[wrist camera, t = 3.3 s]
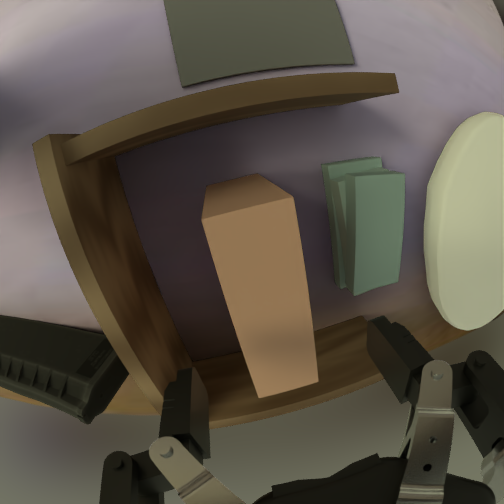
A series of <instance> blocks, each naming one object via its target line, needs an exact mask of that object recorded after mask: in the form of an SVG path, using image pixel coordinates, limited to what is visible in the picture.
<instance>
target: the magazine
mask: <svg viewBox="0 0 504 504" xmlns="http://www.w3.org/2000/svg"><path fill="white" fill-rule="evenodd" d="M128 375H129V372H128V370H127V369H126V367H125V366H124V364H123V363H122V361H121V360H120V358H119V356H118V355H117V353H116V352H115V350H114V348H113V347H112V345H111V343H110V342H109V340H108V338H107V337H106V335H103V334H98V333H93V332H88V331H83V330H79V329H74V328H70V327H65V326H60V325H55V324H50V323H45V322H40V321H33V320H28V319H21V318H15V317H7V316H0V386H1V387H3V388H5V389H8V390H10V391H13V392H15V393H18V394H20V395H23V396H26V397H29V398H32V399H35V400H37V401H40V402H42V403H45V404H47V405H50V406H52V407H54V408H57V409H59V410H61V411H64V412H66V413H68V414H70V415H72V416H74V417H76V418H78V419H79V420H80V421H81V422H83V423H86V424H90V423H91V422H92V420H93V419H94V417H95V416H97V415H99V414H100V413H102V412H103V411H104V410H105V409H106V408H107V406H108V405H109V403H110V402H111V400H112V399H113V397H114V396H115V394H116V393H117V391H118V390H119V388H120V387H121V385H122V384H123V382H124V381H125V379H126V378H127V376H128Z"/></svg>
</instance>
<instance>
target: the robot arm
mask: <svg viewBox="0 0 504 504" xmlns="http://www.w3.org/2000/svg"><path fill="white" fill-rule="evenodd" d="M366 346H367V351H368V354H369V356H370V358H371V359H372V361H373V362H374V364H375V365H376V367H377V368H378V370H379V371H380V373H381V374H382V376H383V377H384V379H385V380H386V382H387V383H388V385H389V386H390V388H391V389H392V391H393V392H394V394H395V396H396V397H397V399H398V400H399V402H400V403H401V404H402V403H404V402H406V401H409V402H410V403H411V407H410V411H409V416H408V421H407V426H406V430H405V435H404V439H403V442H402V445H401V448H400V451H399V454H398V457H383V458H379V456H378V454H377V453H376V454H374V455H371V456H369V457H367V458H364V459H362V460H359V461H357V462H354V463H352V464H350V465H349V466H347V467H346V468H344V469H342V470H341V471H339V472H337V473H336V474H334V475H332V476H330V477H328V478H322V479H307V480H296V481H292V482H288V483H283V484H278V485H273V486H272V492H269V493H267V494H266V495H263V496H262V497H260V498H259V499H258V500H256V501H255V502H254V503H253V504H496V503H498V502H499V501H500V500H501V499H503V498H504V370H503V369H502V368H501V367H500V366H499V365H498V363H497V362H496V361H494V359H493V358H492V357H491V356H490V355H489V354H488V353H487V352H485V351H480V350H478V351H474V352H472V353H470V354H469V356H468V358H467V360H466V362H462V363H458V364H453V365H449V364H447V363H446V362H444V361H441V360H434V359H433V358H432V357H431V356H430V355H429V353H428V352H427V351H426V350H425V349H424V348H423V347H422V345H421V344H420V343H419V342H418V341H417V340H416V339H415V338H414V336H413V335H411V333H410V332H409V331H408V330H407V329H406V328H405V327H404V326H402V325H400V324H398V323H396V322H394V323H392V324H391V323H390V322H389V321H388V319H387V318H386V317H385V316H380V317H377V318H375V319H372V320H369V321H368V323H367V343H366ZM163 401H164V402H163V405H162V408H163V409H162V414H161V422H160V431H159V438H158V439H157V440H155V441H154V442H153V443H152V445H151V446H150V449H149V450H147V451H144V452H141V453H138V454H135V455H132V456H130V455H128V454H127V453H126V452H123V451H116V452H113V453H111V454H110V455H108V456H107V458H106V459H105V461H104V466H103V473H102V482H101V491H100V492H101V493H100V504H164V492H165V491H169V490H172V489H176V490H177V492H178V493H179V494H178V495H179V497H180V498H181V499H182V500H183V501H184V503H185V504H246V503H245V502H244V501H242V500H241V499H240V498H239V497H237V496H236V495H235V494H234V493H233V492H231V491H230V490H229V489H228V488H227V487H226V486H224V485H223V484H222V483H221V482H220V481H219V480H218V479H217V478H215V477H214V476H213V475H212V474H211V473H210V472H209V471H207V470H206V468H204V467H203V459H207V458H210V436H209V402H208V394H207V390H206V388H205V386H204V384H203V382H202V380H201V378H200V376H199V374H198V372H197V370H196V368H195V367H190V368H184V369H179V370H178V371H177V378H176V381H173V382H169V384H168V386H167V387H166V389H165V391H164V398H163ZM452 408H454V410H455V411H456V412H457V414H458V416H459V418H460V419H461V421H462V422H463V424H464V426H465V427H466V429H467V430H468V432H469V434H470V435H471V437H472V439H473V440H474V442H475V444H476V446H477V447H478V449H479V451H480V452H481V454H482V456H483V458H484V459H483V461H482V465H481V475H482V476H483V482H478V481H474V480H470V479H466V478H463V477H459V476H455V475H452V474H449V473H447V469H448V463H449V457H450V451H451V445H452V437H453V428H454V417H455V415H454V411H451V409H452Z"/></svg>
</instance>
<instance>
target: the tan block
mask: <svg viewBox="0 0 504 504" xmlns="http://www.w3.org/2000/svg"><path fill="white" fill-rule="evenodd" d="M201 220H202V223H203V227H204V230H205V234H206V237H207V241H208V244H209V248H210V251H211V254H212V258H213V261H214V264H215V268H216V271H217V274H218V277H219V281H220V284H221V287H222V290H223V294H224V297H225V300H226V303H227V306H228V309H229V312H230V316H231V319H232V322H233V325H234V328H235V331H236V334H237V337H238V340H239V343H240V346H241V349H242V352H243V355H244V358H245V360H246V363H247V366H248V369H249V372H250V375H251V378H252V381H253V383H254V386H255V389H256V392H257V395H258V397H259V398H262V397H266V396H270V395H274V394H278V393H282V392H286V391H289V390H293V389H296V388H300V387H303V386H306V385H310V384H313V383H316V382H318V371H317V361H316V351H315V342H314V333H313V324H312V316H311V308H310V300H309V293H308V286H307V279H306V272H305V265H304V258H303V252H302V245H301V239H300V233H299V227H298V221H297V215H296V209H295V204H294V198H293V196H291V195H290V194H288V193H287V192H285V191H284V190H282V189H281V188H279V187H278V186H276V185H275V184H273V183H271V182H270V181H268V180H267V179H265V178H264V177H262V176H261V175H259V174H253V175H249V176H245V177H240V178H236V179H232V180H228V181H224V182H220V183H216V184H212V185H209V186H206V192H205V199H204V205H203V212H202V219H201Z"/></svg>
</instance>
